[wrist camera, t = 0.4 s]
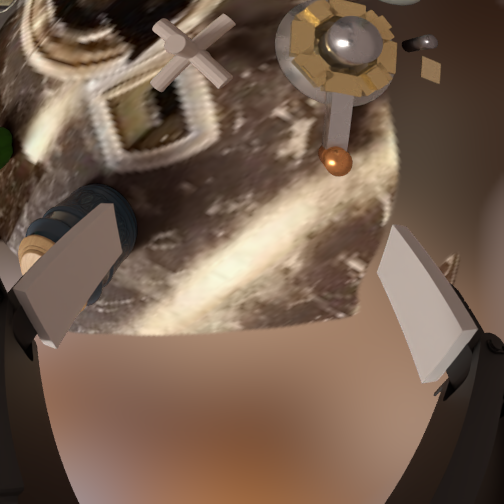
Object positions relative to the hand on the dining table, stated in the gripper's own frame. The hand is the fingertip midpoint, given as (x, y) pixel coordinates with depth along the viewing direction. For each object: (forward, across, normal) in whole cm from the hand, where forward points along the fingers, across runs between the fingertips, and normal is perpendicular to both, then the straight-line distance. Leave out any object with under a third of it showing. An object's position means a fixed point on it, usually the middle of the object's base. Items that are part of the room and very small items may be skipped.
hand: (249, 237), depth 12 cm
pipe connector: (+22, -7, +11) cm, 25 cm away
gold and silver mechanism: (+22, +11, +13) cm, 28 cm away
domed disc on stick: (+20, +8, +9) cm, 23 cm away
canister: (+22, -23, -11) cm, 34 cm away
